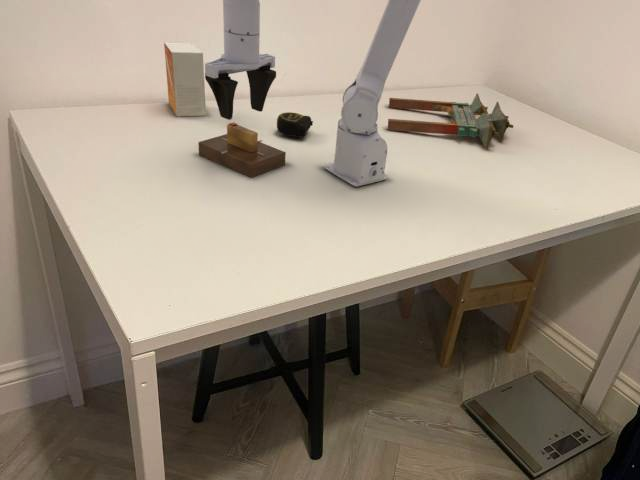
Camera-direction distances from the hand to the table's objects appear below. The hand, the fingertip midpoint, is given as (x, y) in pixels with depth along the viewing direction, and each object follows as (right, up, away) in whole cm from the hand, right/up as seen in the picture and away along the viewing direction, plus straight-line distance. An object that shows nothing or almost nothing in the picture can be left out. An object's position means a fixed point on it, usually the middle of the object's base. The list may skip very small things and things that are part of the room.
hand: (242, 113), depth 99 cm
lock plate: (-1, -7, +5) cm, 9 cm away
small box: (-18, +8, +23) cm, 30 cm away
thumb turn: (-1, -5, +3) cm, 6 cm away
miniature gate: (+41, +9, +39) cm, 57 cm away
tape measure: (+7, +2, +20) cm, 21 cm away
